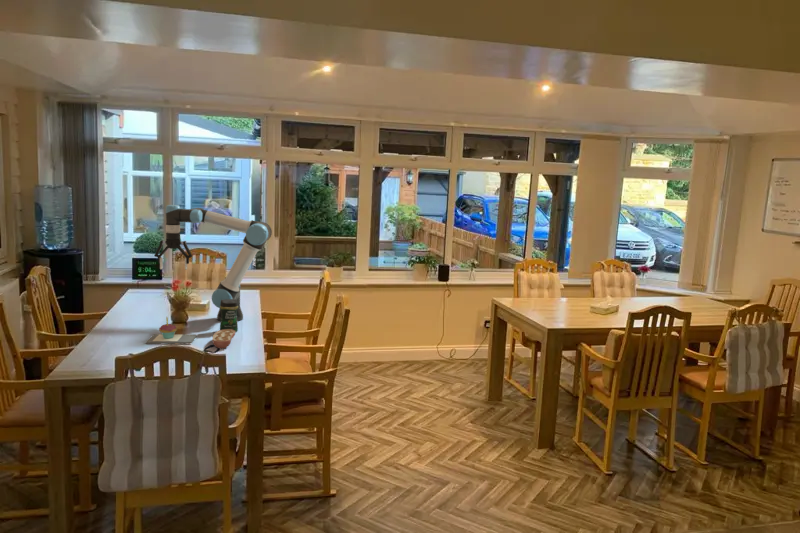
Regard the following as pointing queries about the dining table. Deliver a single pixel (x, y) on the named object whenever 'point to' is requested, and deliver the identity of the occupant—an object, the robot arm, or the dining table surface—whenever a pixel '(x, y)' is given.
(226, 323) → the coffee jar
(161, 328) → the cupcake
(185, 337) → the board
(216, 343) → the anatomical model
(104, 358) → the dining table surface
